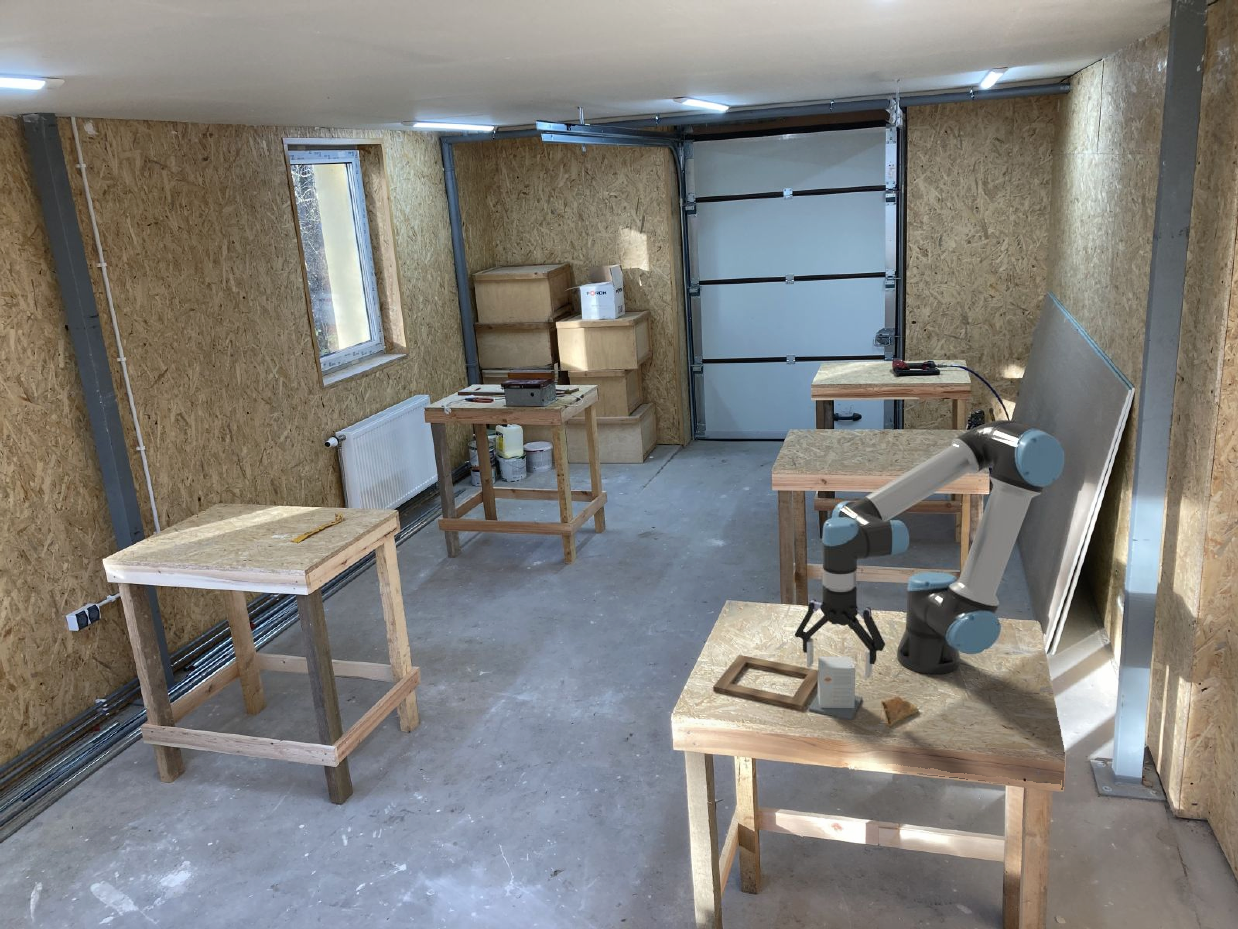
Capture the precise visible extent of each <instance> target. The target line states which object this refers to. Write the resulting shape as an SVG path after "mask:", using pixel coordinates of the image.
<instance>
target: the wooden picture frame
mask: <svg viewBox="0 0 1238 929" xmlns="http://www.w3.org/2000/svg"><path fill="white" fill-rule="evenodd" d="M747 667H748V668H754V669H758V670H763V671H766V672H767V671H768V672H774V673H778V674H783V675H788V676H791V677H792V676H793V677H797V678H802V679H803V680H802V682H801V684H800V685H799V687H798V688H797V690H796V691H795V693H794V695H793V696H791V695H787V694H781V693H776V692H771V691H767V690H763V689H757V688H754V687H753V688H752V687H748V686H743V685H739V684H734V682H735V681H736V680H737V679H738V678H739V676H740V675H741V673H742V672H744V670H745V668H747ZM816 687H818V669H813V668H808V667H803V666H798V665H793V664H788V663H782V662H777V661H772V660H769V659H763V658H757V657H752V656H747V655H743V654H742V655H741V654H738V655H737V656H736V658H735V659H734V660H733V662H732V663H731V664H730V665H729V667H727V669H725V671H724V672H723V674H722V675H721V676H720V677H719V678H718V679H717V681H716V682H715V684H714V685H713V687H712V688H713V689H712V691H713V692H717V693H722V694H727V695H730V696H731V695H732V696H735V697H740V698H744V699H749V700H754V701H758V702H763V703H766V704H767V703H768V704H772V705H776V706H780V707H786V708H790V709H794V710H799V711H803V709H804V707H805V705H806V704H807V702H808V700H809V699H810V697H811V696H812V694H813V692H814V691H815V689H816Z"/></svg>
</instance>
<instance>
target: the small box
mask: <svg viewBox="0 0 1238 929" xmlns="http://www.w3.org/2000/svg"><path fill="white" fill-rule="evenodd" d="M817 658H818V659H817V660H818V663H817V664H818V665H817V670H818V684H817V694H818V700H819V705H820V708H854V702H855V696H856V695H855V694H856V693H855V692H856V666H855V663H854V661H853V659H854V658H853V657H852V656H819V657H817Z"/></svg>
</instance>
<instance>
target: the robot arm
mask: <svg viewBox="0 0 1238 929" xmlns="http://www.w3.org/2000/svg"><path fill="white" fill-rule="evenodd" d="M1064 466H1065V452H1064V449H1063V448H1062V445H1061V443H1060V441H1059V440H1058V439H1057V438H1056V437H1054V436H1053V435H1051V434H1049V433H1047V432H1045V431H1043V430H1042V429H1036V428H1034V427H1030V426H1027V425H1025V424H1021V423H1018V422H1016V421H1013V420H1009V419H1000V420H994V421H989V422H986V423H984V424H981V425H978V426H976V427H973V428H971V429H970V430H968V431H966V432H964V433H962V434H960V435H959V436H957V437H955V438H954V439H952V441H951V444H950V445H949V447H947V448H945V449H944V450H942V451H940V452H938V453H937V454H935V455H933V456H932V457H930V458H928V459H926V460H925V461H923V462H921V463H920V464H918V465H916V466H915V467H913V468H911V469H909V470H908V471H907V472H905V473H903V474H901V475H899V476H898V477H897V478H895V479H893V480H891V481H890V482H888V483H887V484H884V485H883V486H882V487H880V488H877V489H875V491H873V492H871V493H869V494H868V495H866V496H864V497H862V498H861V499H860V500H858V501H856V502H855V501H853V500H852V501H851V500H845V501H844V500H843V501H841V502H839V503H838V504H837V505H835V507H834V509H833V510H832V514H831V518H829V519H827V520H825V522H824V523H823V527H822V538H821V542H822V585H823V586H822V602H818V601H817V600H816V599H814V598H813V599H811V600H810V601H809V603H808V606H807V612H806V614H805V616H804V617H803V619H802V621H801V623H800V624H799V626H798V628H797V630H796V631H795V633H794V637H795V638H800V639H801V640H802V652H803V654H804V653H805V654H806V668H809V669H811V667H812V666H813V664H814V637H812V636H813V635H815V634H816V633H818V631H819V630H820V629H821V628H822V627H823V626H824V625H826V624H827V623H828V622H830V624H831V625H840V626H843V627H845V626H847V627H849V629H850V630H852V631H853V632H854V633H855V635H856V636H857V637H858V638H859V639H860V641H861V642H862V643H863V645H865V647H866V648H867V649H866V652H865V679H870V677H871V675H872V672H873V671H872V669H873V668H872V666H873V665H875V663H876V662H877V652H882V651H883V650H884V648H885V645H886V643H885V641H884V639H883V636H882V635H881V633H880V630H879V628H878V626H877V625H876V623H875V620H874V618H873V616H872V615H873V614H872V610H871V607H869V606H867V607H865V608H859V607H858V605H857V603H858V602H857V598H858V597H857V596H858V594H857V592H858V588H857V585H858V584H857V583H858V582H857V581H858V580H857V579H858V560H863V559H869V558H878V557H885V556H886V557H887V556H894V555H898V554H900V553H904V552H906V551H907V549H908V547H909V545H910V534H909V530H908V528H907V526H906V524H905V523H904V522H903V521H901V520H898V519H897V520H893V519H892V518H894V517H896V516H898V515H899V514H901V513H903V512H904V511H906V510H907V509H909V508H911V507H913V506H914V505H916V504H918V503H920V502H922V501H923V500H925V499H927V498H929V496H931V495H933V494H936V493H937V492H938V491H940V490H941V489H943V488H945V487H947V486H948V485H950V484H952V483H954V482H955V481H957V480H958V479H960V478H962V477H964V476H965V475H967V474H969V473H970V474H973V475H975V474H977V473H979V472H980V471H983V470H985V469H988V468H992V469H991V471H990V474H989V479H990V482H991V483H992V489H991V491H990V495H989V497H988V500H987V502H986V505H985V508H984V511H983V513H982V516H981V518H980V521H979V523H978V527H977V529H976V532H975V534H974V537H973V541H972V544H971V546H970V548H969V552H968V554H967V556H966V560H965V563H964V565H963V567H962V571H961V573H960V575H959V578H957V577H956V576H955V575H953V574H950V573H946V572H938V571H936V572H935V571H926V572H918V573H916V574H913V575H912V576H910V577H909V579H908V584H907V588H906V591H907V596H906V598H907V599H906V618H905V620H906V621H905V629H904V632H903V634H902V637H901V640H900V641H899V643H898V644H899V645H898V647H897V650H896V651H897V652H896V659H897V661H898V662H899V663H900V664H901V665H902V666H903V667H905V668H907V669H909V670H911V671H914V672H918V673H921V674H929V675H942V674H949V673H952V672H954V671H955V670H957V669H958V668H959V666H960V660H961V659H960V658H961V655H960V653H962V654H966V655H976V654H980V653H982V652H984V651H985V650H988V649H990V648H991V647H992V646H993V645H994V644H995V643H996V642H997V640H998V639H999V637H1000V634H1001V629H1002V627H1001V626H1002V625H1001V623H1000V619H999V617H998V616H997V615H996V614H997V611H998V609H999V605H1000V601H999V599H998V597H997V595H996V594H997V591H998V588H999V585H1000V583H1001V581H1002V578H1003V575H1004V573H1005V570H1006V567H1007V565H1008V562H1009V559H1010V556H1011V554H1012V551H1013V549H1014V545H1015V543H1016V540H1017V539H1018V535H1019V533H1020V530H1021V528H1022V525H1023V522H1024V520H1025V517H1026V514H1027V512H1028V509H1029V507H1030V504H1031V501H1032V499H1033V498H1034V497H1037V496H1040V495H1041V494H1042V492H1043V490H1044V488H1045V487H1046V486H1049V485H1051V484H1052V483H1053V481H1056V480H1058V479H1059V477H1060V475H1061V474H1062V472H1063V469H1064ZM819 609H820V611H821V612H822V613H823V616H822V617H821V618H820V619H819V620H818V621H817V622H815V623H814V624H813V626H811V627H810V628H809V629H808V630H807V631H805V629H806V627H807V625H808V624H809V622H810V620H811V619H812V616H813V615H814V613H815V612H817V611H819ZM857 615H859V616H860V617H861V619H863V622H864V624H865V626H866V629H867V631H868V632H867V631H866V629H865V627H863V625H862V624H861V622H860V621H859V619H858V617H857Z"/></svg>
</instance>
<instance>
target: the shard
mask: <svg viewBox="0 0 1238 929" xmlns="http://www.w3.org/2000/svg"><path fill="white" fill-rule="evenodd" d="M880 705H881V707H882V710H883V712H884V713H883V714H884V716H885V720H886V723H887V725H888V727H889V728H891V727H893V726H895V725H896V724H897V723H899V722H901V721H902V720H903V719H906V718H908V717H909V716H912V715H914V714H916V713H918V712H919V708H918V707H917V706H916V705H914V704H913V703H911V702H910V701H907V700H906V699H903V698H901V697H899V696H893V697H891V698H890V699H886V700H883V701H880Z"/></svg>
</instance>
